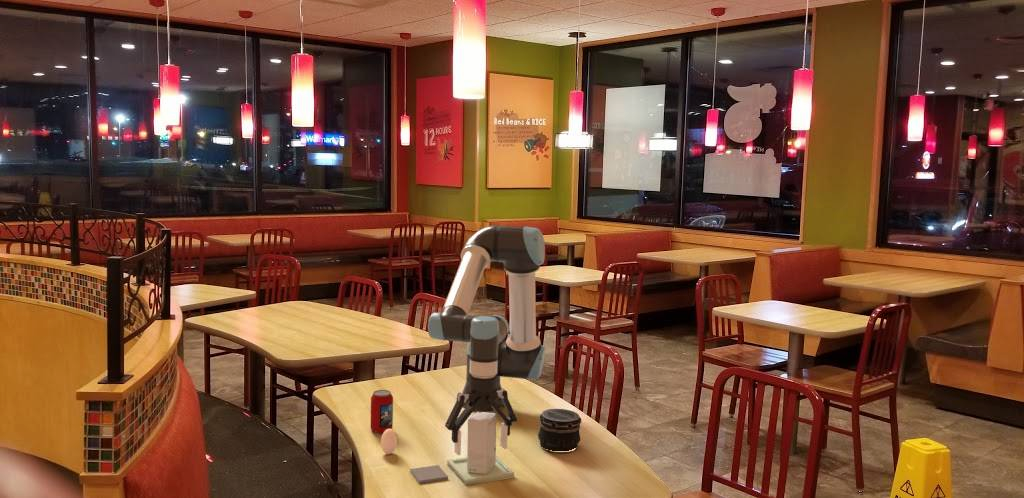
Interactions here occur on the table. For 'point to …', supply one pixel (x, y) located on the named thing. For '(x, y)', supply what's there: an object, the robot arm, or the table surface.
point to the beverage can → (381, 411)
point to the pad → (429, 474)
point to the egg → (389, 441)
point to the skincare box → (481, 443)
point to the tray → (468, 478)
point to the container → (559, 429)
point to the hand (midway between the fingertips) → (480, 450)
